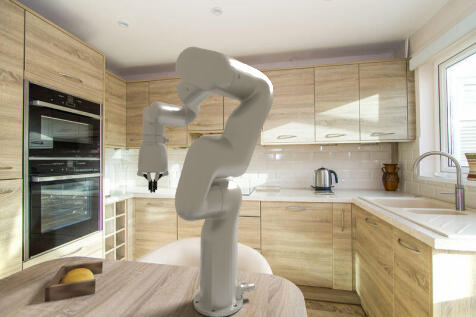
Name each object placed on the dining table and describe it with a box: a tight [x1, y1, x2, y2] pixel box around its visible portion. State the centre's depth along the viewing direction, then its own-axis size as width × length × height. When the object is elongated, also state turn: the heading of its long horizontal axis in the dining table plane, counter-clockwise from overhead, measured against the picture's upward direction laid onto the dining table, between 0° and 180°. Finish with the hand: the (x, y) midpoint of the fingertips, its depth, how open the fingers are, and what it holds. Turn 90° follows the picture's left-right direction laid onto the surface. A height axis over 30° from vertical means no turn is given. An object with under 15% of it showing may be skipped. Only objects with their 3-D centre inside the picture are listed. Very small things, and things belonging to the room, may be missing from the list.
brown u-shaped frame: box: [44, 260, 104, 303], centre depth 69 cm, size 11×14×4 cm
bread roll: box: [60, 268, 95, 284], centre depth 69 cm, size 8×9×4 cm
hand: (152, 192), depth 85 cm, fingers closed
